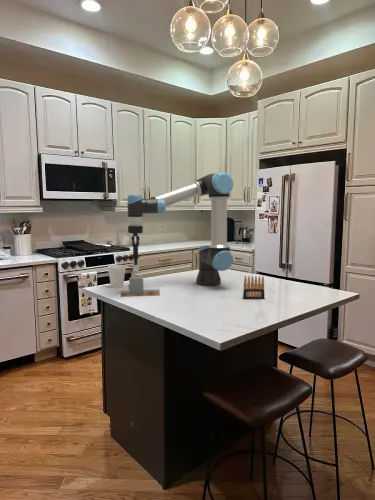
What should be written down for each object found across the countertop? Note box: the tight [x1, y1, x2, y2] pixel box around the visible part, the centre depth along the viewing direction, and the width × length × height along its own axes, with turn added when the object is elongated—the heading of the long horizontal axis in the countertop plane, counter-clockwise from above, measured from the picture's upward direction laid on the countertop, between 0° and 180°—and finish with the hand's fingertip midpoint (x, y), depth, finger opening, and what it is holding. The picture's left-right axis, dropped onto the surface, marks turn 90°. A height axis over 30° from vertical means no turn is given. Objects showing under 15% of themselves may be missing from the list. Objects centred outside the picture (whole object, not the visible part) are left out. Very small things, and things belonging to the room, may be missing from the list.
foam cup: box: [107, 264, 126, 289], centre depth 200 cm, size 10×9×13 cm
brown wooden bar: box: [120, 288, 161, 295], centre depth 186 cm, size 20×2×2 cm, turn 98°
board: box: [120, 292, 161, 298], centre depth 186 cm, size 20×13×2 cm, turn 98°
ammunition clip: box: [242, 275, 266, 300], centre depth 180 cm, size 11×2×12 cm, turn 89°
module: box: [127, 276, 144, 294], centre depth 185 cm, size 8×5×8 cm, turn 98°
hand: (135, 270), depth 184 cm, fingers closed
